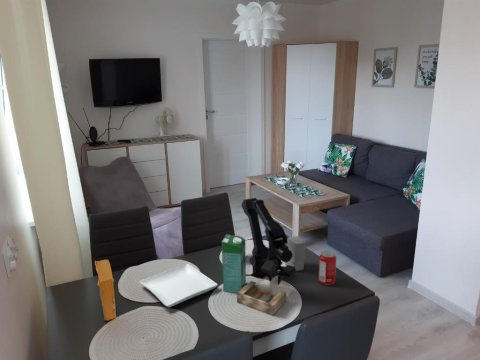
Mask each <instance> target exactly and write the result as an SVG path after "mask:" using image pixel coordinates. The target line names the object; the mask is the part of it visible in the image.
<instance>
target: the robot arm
mask: <svg viewBox="0 0 480 360" xmlns="http://www.w3.org/2000/svg"><path fill="white" fill-rule="evenodd" d="M241 207H242V210H243V213H244V214H245V215H246V216H247V217H248V223H249V227H250V232H251V238H252V242H253V248H252V250H251V251H252V252H251V255H252V256H251V257H250V258H249V259H248V260H249V264H250V265H251V266H252V273H251V274H250V276H251V277H254V278H258V279H263V278H265V277H267V280H269V282H270V281H271V280H272V279H273V274H276V276H278V285H279V284H281V282H282V280H283V278H284V277H286V278H291V277H293V276H294V274H296V272H297V271H296V268H295V267H293V266H290V265H287V266H286V265H285V266H284V265H283V263H285V262H289V261H290V260H291V258H292V255H293V254H292V252H291V251H290V250H289V247H288V246H287V243H288V241H287V239H288V237H287V234H286V232H285V230H284V228H283V226H282V225H281V224H280V223H279V222H277V221H275V220H274V218H273V216H272V215H271V213H270V211H269V209H267V207H266V205H265V202H264V200H263V199H259V198H258V199H257V197H251V198H245V199H243V200H242V202H241ZM259 219H260V220H261V222H262V224H263V225H264V227H265V228H264V233H265V236H266V241H267V242H268V246H266V245H265V244H264V239H263V235H262V229H261V224H260V220H259Z"/></svg>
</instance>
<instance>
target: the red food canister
mask: <svg viewBox="0 0 480 360" xmlns="http://www.w3.org/2000/svg"><path fill="white" fill-rule="evenodd" d="M318 258H319V261H318V282H319V283H320V284H323V285H324V286H331V285H334V284H335V283H336V272H337V271H336V270H337V256H336V253H335V252H333V251H332V250H322V251H321V252H320V254H319V257H318Z"/></svg>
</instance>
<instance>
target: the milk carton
mask: <svg viewBox="0 0 480 360" xmlns="http://www.w3.org/2000/svg"><path fill="white" fill-rule="evenodd" d="M235 236H236V235H231V234H229V233H226V234H225V235H224V238H222V239H223V240H221V257H222V259H221V261H222V283H223V284H222V287H223V289H222V290H223V292H230V293H237V292H239V291H240V290H241V289H242V288H243V287H245V286H246V285H247V271H246V270H247V268H246V262H247V261H246V257H247V256H246V239H241V238H238V237H235Z"/></svg>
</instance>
